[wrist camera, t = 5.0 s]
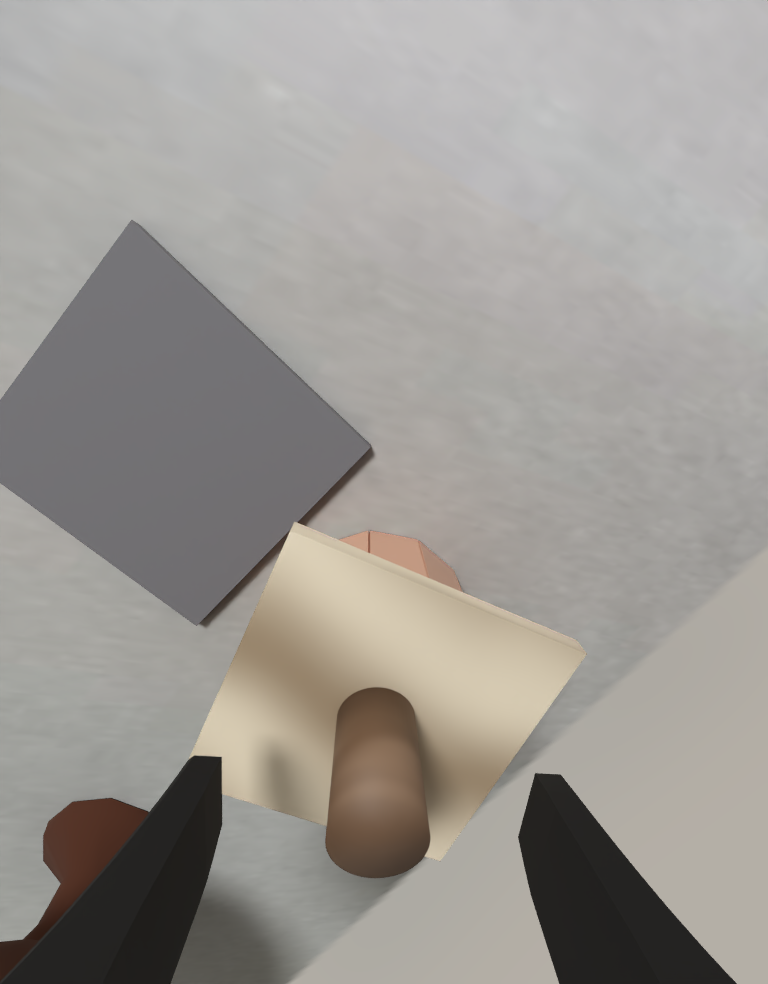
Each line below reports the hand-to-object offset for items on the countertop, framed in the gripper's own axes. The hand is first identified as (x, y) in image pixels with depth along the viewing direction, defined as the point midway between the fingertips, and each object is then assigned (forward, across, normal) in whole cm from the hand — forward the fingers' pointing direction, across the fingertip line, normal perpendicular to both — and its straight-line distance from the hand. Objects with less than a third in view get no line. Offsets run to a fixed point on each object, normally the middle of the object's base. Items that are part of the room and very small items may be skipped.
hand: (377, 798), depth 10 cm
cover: (+3, 0, 0) cm, 3 cm away
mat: (+7, +8, -6) cm, 12 cm away
